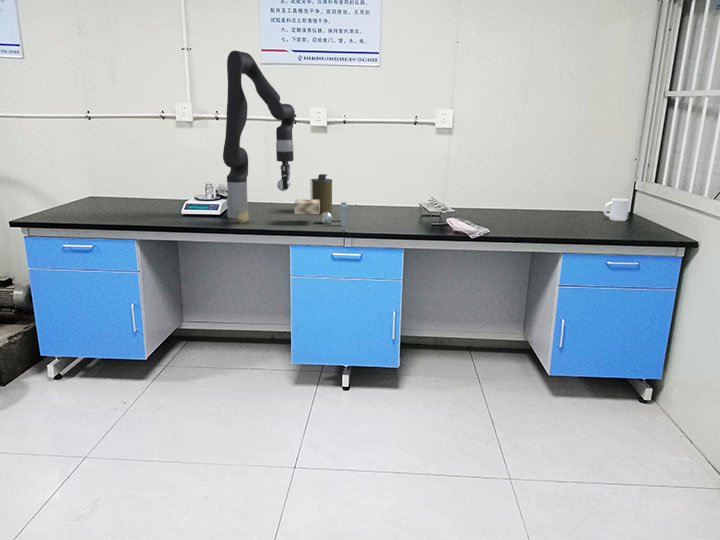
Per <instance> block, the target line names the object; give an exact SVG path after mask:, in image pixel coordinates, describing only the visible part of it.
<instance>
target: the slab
mask: <svg viewBox="0 0 720 540" xmlns="http://www.w3.org/2000/svg"><path fill="white" fill-rule="evenodd" d="M293 207H294V215H314V214H319V212H320V200H312V199H295V201H294V206H293Z"/></svg>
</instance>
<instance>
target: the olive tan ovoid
mask: <svg viewBox="0 0 720 540" xmlns="http://www.w3.org/2000/svg"><path fill="white" fill-rule="evenodd" d="M236 220H237V222H238V224H242V225H244V224H246V223H248V221H249V220H250V214H249V211H248V212H246V211H242V212H241V213H240V214H238V216H237V219H236Z"/></svg>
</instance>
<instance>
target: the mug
mask: <svg viewBox="0 0 720 540" xmlns="http://www.w3.org/2000/svg"><path fill="white" fill-rule="evenodd" d="M608 206H610V207H609V212H607V208H608ZM629 207H630V199H627V198H621V197H620V198H617V197H616V198H615V197H614V198H611V200H610V201H609V202H606V203H605V205H604V206H603V209H602V210H603V211H602V213H603V214H604V216H606V217H608V219H609V220H610V221H615V222H625V221H627V220H628V215H629Z"/></svg>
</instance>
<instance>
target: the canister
mask: <svg viewBox="0 0 720 540" xmlns="http://www.w3.org/2000/svg"><path fill="white" fill-rule="evenodd" d="M327 176H328V174H326V173H325V174H324V173H319V174H318V177H317V178H311V200H320V212H319V214H317V215H316V216H321V215H322V213H323V212H326V211H327V212H330V213H331V215H332V214H333V181H334V180H333V179H331V178H327Z"/></svg>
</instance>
